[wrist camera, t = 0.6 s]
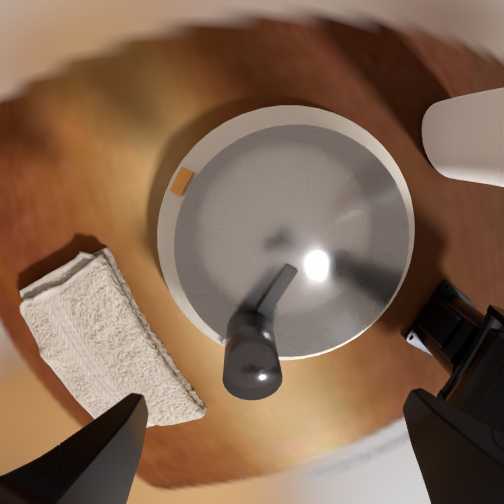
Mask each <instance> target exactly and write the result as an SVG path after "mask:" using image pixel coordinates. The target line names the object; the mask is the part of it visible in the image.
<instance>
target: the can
mask: <svg viewBox="0 0 504 504" xmlns="http://www.w3.org/2000/svg"><path fill="white" fill-rule="evenodd" d="M422 140H423V146H424V149H425V152H426V155H427V157H428V159H429V161H430V162H431V164H432V165H433V167H434V168H435V169H436V170H437V171H438V172H439V173H441V174H442V175H444V176H446V177H448V178H453V179H459V180H466V181H472V182H479V183H485V184H491V185H497V186H502V187H504V88H499V89H493V90H488V91H483V92H478V93H473V94H468V95H464V96H459V97H455V98H451V99H447V100H443V101H440V102H437V103H434V104H433V105H431V106H430V107H429V108H428V110H427V111H426V113H425V115H424V117H423V121H422Z"/></svg>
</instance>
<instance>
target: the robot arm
mask: <svg viewBox="0 0 504 504" xmlns="http://www.w3.org/2000/svg"><path fill="white" fill-rule="evenodd" d="M445 285H446V286H445ZM444 287H445V288H444ZM410 336H411V337H410ZM409 337H410V338H409ZM405 340H406V341H407V342H408V343H410V344H412V345H414V346H416V347H418V348H419V349H421V350H423V351H425V352H427V353H429V354H431V355H432V356H434V357H435V359H436V360H437V361H438V362H439V363H440V364H441V365H442V366H443V368H444V369H445V370H446V371H447V372H448V373H449V375H450V376H451V377H450V378H449V380H448V381H447V383H446V384H445V386H444V387H443V388H442V390H440V391H439V393H438V394H437V397H436V396H434V395H432V394H431V393H429V392H427V391H425V390H424V389H422V388H419V389H414V390H411V391H410V393H409V395H408V397H407V399H406V401H405V404H404V406H403V413H404V417H405V421H406V425H407V429H408V433H409V437H410V441H411V444H412V447H413V450H414V453H415V456H416V459H417V462H418V464H419V467H420V470H421V473H422V476H423V479H424V482H425V485H426V488H427V492H428V495H429V498H430V501H431V504H504V310H503V309H500V308H498V307H495V306H492V305H489V307H488V309H487V313H486V315H483V314H482V313H481V312H479V311H478V310H476V309H475V305H474V304H473V303H472V302H470V301H469V300H468V299H467V298H466V297H465V296H464V295H463V294H462V293H461V292H460V291H458V290H457V289H456V288H455V287H454V286H453V285H452V284H451V283H450V282H448V281H446V280H444V281H442V283H441V284H440V286H439V287H438V289H437V290H436V292H435V293H434V295H433V296H432V298H431V299H430V301H429V302H428V304H427V305H426V307H425V308H424V310H423V311H422V313H421V314H420V315H419V317H418V318H417V320H416V321H415V322H414V324H413V325H412V327H411V328H410V329H409V331H408V332H407V333H406V335H405ZM147 421H148V408H147V405H146V401H145V397H144V395H142V394H138V393H130V394H129V395H127V396H126V397H125V398H123V399H122V400H120V401H119V402H118V403H116V404H115V405H114V406H112V407H111V408H110V409H108V410H107V411H106V412H104V413H103V414H101V415H100V416H99V417H97V418H96V419H94V420H93V421H92V422H90V423H89V424H88V425H86V426H85V427H83V428H82V429H80V430H79V431H78V432H76V433H75V434H74V435H72V436H71V437H69V438H68V439H66V440H65V441H64V442H62V443H60V445H57V446H56V447H55V448H53V449H52V450H50V451H48V452H47V453H45V454H44V455H42V456H41V457H39V458H37V459H35V460H33V461H31V462H30V463H28V464H26V465H23V466H21V467H20V468H17V469H15V470H13V471H11V472H9V473H7V474H4V475H2V476H0V504H126V502H127V499H128V496H129V492H130V489H131V486H132V482H133V479H134V476H135V473H136V470H137V466H138V463H139V460H140V457H141V453H142V448H143V442H144V437H145V431H146V426H147Z"/></svg>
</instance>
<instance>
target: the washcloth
mask: <svg viewBox="0 0 504 504" xmlns="http://www.w3.org/2000/svg"><path fill="white" fill-rule="evenodd" d="M19 292H20V296H21V298H22V299H23V302H22V303H21V305H20V312H21V314H22V316H23V317H24V319H25V321H26V323H27V325H28V326H29V328H30V330H31V332H32V334H33V336H34V338H35V340H36V342H37V344H38V346H39V351H40V355H41V357H42V358H43V360H44V361H45V362H46V363H47V364H48V365H49V366H50V367H51V368H52V369H53V371H54V372H55V373H56V375H57V376H58V377H59V378H60V379H61V381H62V382H63V383H64V385H65V386H66V388H67V389H68V390H69V392H70V393H71V394H72V395H73V396H74V397H75V399H76V400H77V401H78V402H79V403H80V404H81V405H82V406H83V407H84V408H85V409H86V410H87V411H88V412H89V413H90V414H91V416H92V417H93V418H94V419H96V418H97V417H99V416H100V415H101V414H103V413H104V412H106V411H107V410H108V409H110V408H111V407H112V406H114V405H115V404H116V403H118V402H119V401H120V400H122V399H123V398H125V397H126V396H127V395H129V394H130V393H138V394H142V395H144V397H145V401H146V405H147V408H148V421H147V426H146V427H150V426H154V425H156V424H157V425H160V426H165V425H172V424H178V423H182V422H188V421H191V420H196V419H200V418H202V417H203V416H204V414H205V413H206V409H207V407H206V406H205V405H204V403H203V401H202V400H201V399H200V398H199V397H198V395H197V394H196V393H195V392H196V391H194V390H193V389H192V387H191V386H190V383H189V382H188V381H187V380H186V379H185V378H184V376H183V374H182V373H181V372H180V371H179V368H178V367H176V364H175V363H174V361H173V359H172V357H171V355H169V354H168V353H167V350H166V347H165V346H164V344H162V343H161V341H160V340H159V339H158V338H157V336H156V334H155V332H154V331H153V329H152V328H150V327H149V323H148V322H147V320H146V318H145V316H144V314H143V313H142V312H141V311H140V309H139V307H138V306H137V304H136V302H135V299H134V296H133V295H132V294H131V292H130V288H129V287H128V285H127V283H126V282H125V280H124V278H123V275H122V273H121V272H120V270H119V267H118V265H117V263H116V261H115V258H114V256H113V254H112V252H111V251H110V249H109V247H106V248H104V249H101V250H99V251H98V252H95V253H93V254H89V253H86V252H81V251H79V254H78V255H77V256H76V258H75V259H73V260H71V261H70V262H68V263H67V264H65V265H63V266H61V267H60V268H58V269H56V270H54V271H52V272H51V273H49V274H47V275H45V276H44V277H43V278H41V279H39V280H37V281H35V282H33V283H32V284H30V285H28V286H27V287H26V288H24V289H22V290H20V291H19Z"/></svg>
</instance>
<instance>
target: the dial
mask: <svg viewBox="0 0 504 504" xmlns="http://www.w3.org/2000/svg"><path fill="white" fill-rule="evenodd" d="M408 249H409V223H408V217H407V211H406V207H405V204H404V201H403V198H402V195H401V193H400V190H399V188H398V186H397V184H396V182H395V180H394V179H393V177H392V176H391V174H390V172H389V171H388V169H387V168H386V167H385V166H384V165H383V164H382V162H381V161H380V160H379V159H378V158H377V157H376V156H375V155H374V154H373V153H372V152H370V151H369V150H368V149H367V148H366V147H364V146H363V145H361V144H360V143H358V142H357V141H355V140H354V139H352V138H350V137H348V136H346V135H344V134H341V133H339V132H337V131H334V130H330V129H327V128H323V127H318V126H312V125H281V126H275V127H269V128H266V129H262V130H259V131H256V132H253V133H251V134H248V135H246V136H244V137H242V138H240V139H238V140H236V141H235V142H233V143H231V144H230V145H228V146H227V147H225V148H224V149H222V150H221V151H220V152H219V153H218V154H217V155H215V156H214V157H213V158H212V159H211V160H210V161H209V162H208V163H207V164H206V165H205V166H204V168H203V169H202V170H201V171H200V172H199V173H198V175H197V176H196V178H195V179H194V181H193V183H192V184H191V186H190V187H189V189H188V191H187V193H186V195H185V198H184V200H183V202H182V204H181V207H180V211H179V214H178V218H177V221H176V228H175V235H174V256H175V264H176V270H177V273H178V277H179V280H180V284H181V286H182V288H183V291H184V293H185V295H186V297H187V299H188V301H189V302H190V304H191V306H192V307H193V309H194V310H195V312H196V313H197V314H198V315H199V317H200V318H201V319H202V320H203V321H204V322H205V323H206V324H207V325H208V326H209V327H210V328H211V329H212V330H213V331H214V332H216V333H217V334H218V335H220V336H221V337H223V338H224V339H225V340H226V343H225V356H224V370H223V384H224V386H225V388H226V389H227V391H228V392H229V393H231V394H232V395H234V396H235V397H238V398H240V399H245V400H259V399H263V398H266V397H268V396H270V395H272V394H273V393H275V392H276V391H277V390H278V388H279V387H280V385H281V383H282V372H281V367H280V362H279V357H297V356H306V355H311V354H315V353H319V352H323V351H326V350H328V349H331V348H334V347H336V346H338V345H340V344H342V343H344V342H346V341H348V340H349V339H351V338H353V337H354V336H356V335H357V334H359V333H360V332H361V331H363V330H364V329H365V328H366V327H368V326H369V325H370V324H371V323H372V322H373V321H374V320H375V319H376V318H377V317H378V316H379V315H380V313H381V312H382V311H383V310H384V308H385V307H386V306H387V304H388V303H389V301H390V300H391V298H392V296H393V295H394V293H395V291H396V289H397V287H398V285H399V283H400V281H401V278H402V275H403V272H404V269H405V266H406V261H407V256H408Z"/></svg>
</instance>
